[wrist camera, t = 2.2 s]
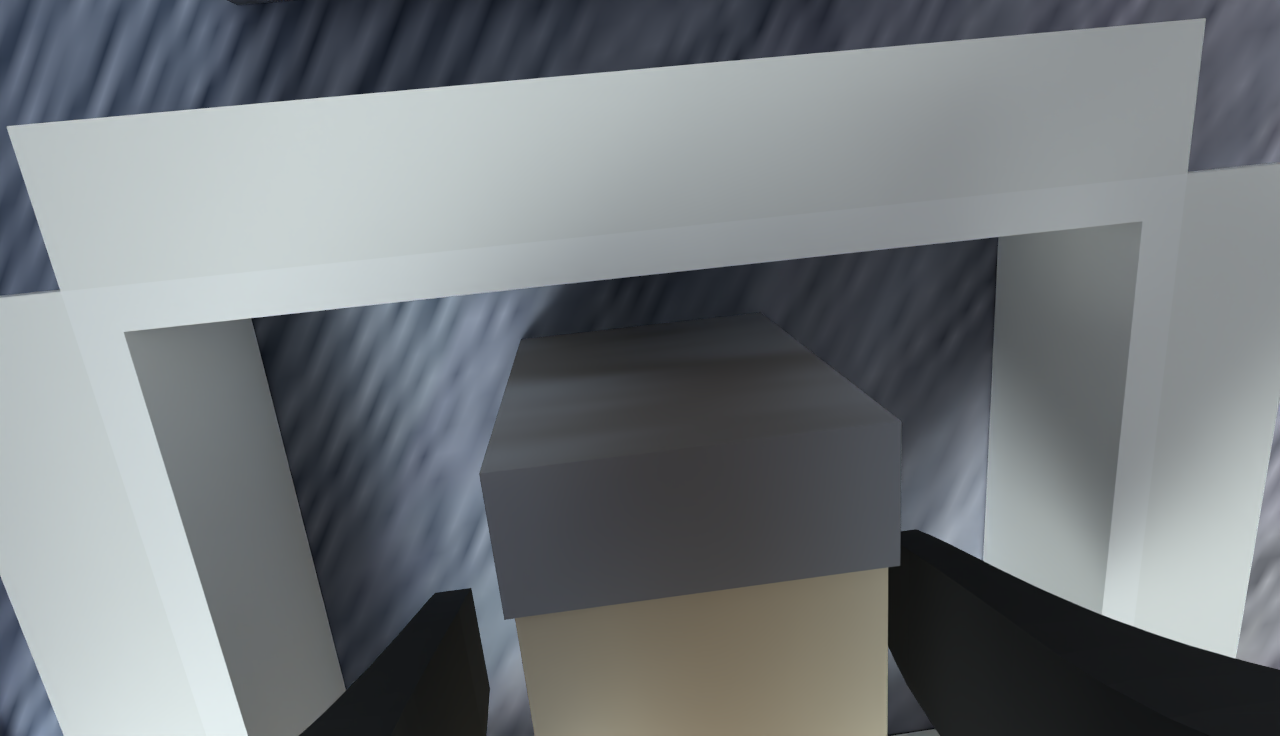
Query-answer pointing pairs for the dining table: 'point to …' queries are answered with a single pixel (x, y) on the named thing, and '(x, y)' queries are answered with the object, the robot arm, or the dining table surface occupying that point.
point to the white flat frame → (608, 249)
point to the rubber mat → (254, 1)
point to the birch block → (694, 533)
